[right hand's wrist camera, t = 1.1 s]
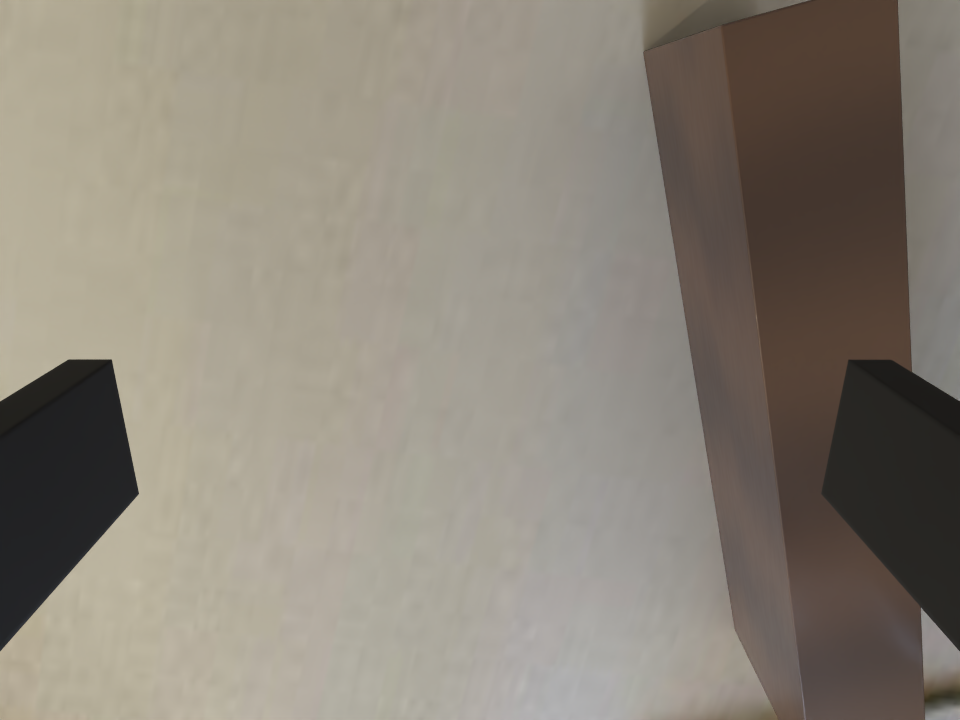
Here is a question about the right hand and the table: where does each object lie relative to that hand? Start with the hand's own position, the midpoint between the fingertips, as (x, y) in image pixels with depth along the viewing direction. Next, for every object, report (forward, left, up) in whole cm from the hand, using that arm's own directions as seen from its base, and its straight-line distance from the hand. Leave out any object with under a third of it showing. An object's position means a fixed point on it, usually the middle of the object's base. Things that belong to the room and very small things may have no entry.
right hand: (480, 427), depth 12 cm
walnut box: (+1, +15, -21) cm, 26 cm away
